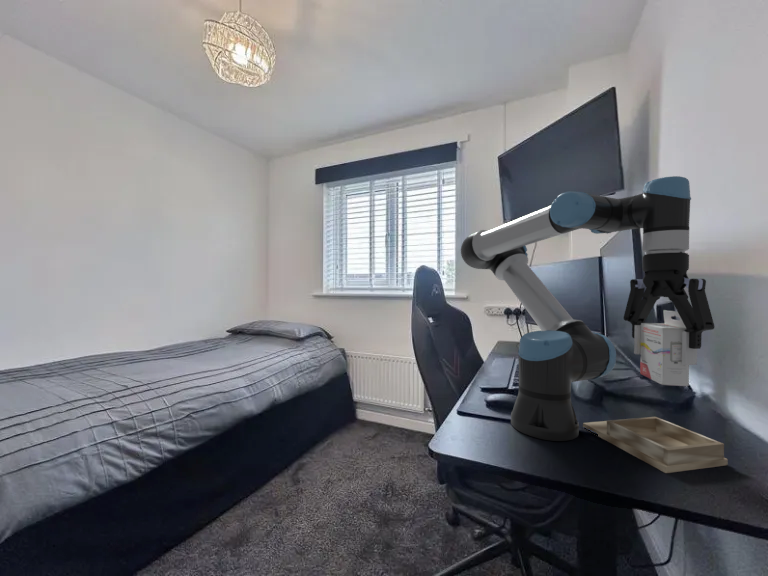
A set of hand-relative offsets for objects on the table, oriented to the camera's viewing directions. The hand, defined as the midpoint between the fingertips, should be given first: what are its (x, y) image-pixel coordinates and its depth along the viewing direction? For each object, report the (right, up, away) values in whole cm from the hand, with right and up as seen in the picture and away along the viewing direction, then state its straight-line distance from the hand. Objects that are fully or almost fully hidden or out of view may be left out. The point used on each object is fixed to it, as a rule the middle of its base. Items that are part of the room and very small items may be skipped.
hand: (663, 358), depth 71 cm
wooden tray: (-1, -20, +3) cm, 20 cm away
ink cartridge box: (0, -5, 0) cm, 5 cm away
